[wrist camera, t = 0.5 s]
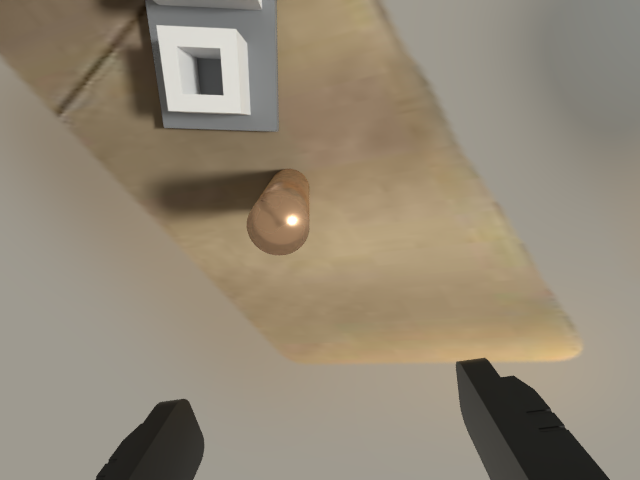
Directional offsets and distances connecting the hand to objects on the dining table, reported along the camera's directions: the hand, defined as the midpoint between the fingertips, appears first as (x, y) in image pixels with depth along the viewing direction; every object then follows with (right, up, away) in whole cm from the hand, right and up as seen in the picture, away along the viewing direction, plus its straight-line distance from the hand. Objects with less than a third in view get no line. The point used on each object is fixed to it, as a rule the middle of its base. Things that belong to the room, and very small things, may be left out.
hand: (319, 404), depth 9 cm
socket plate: (-9, +23, +16) cm, 30 cm away
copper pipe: (-3, +10, +22) cm, 24 cm away
